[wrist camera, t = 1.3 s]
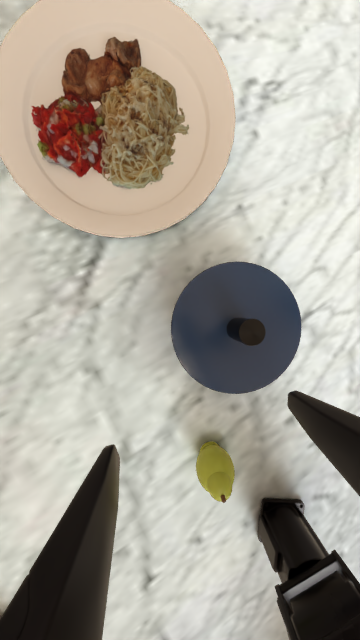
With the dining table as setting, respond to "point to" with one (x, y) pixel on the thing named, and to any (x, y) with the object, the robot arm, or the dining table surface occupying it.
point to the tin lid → (236, 327)
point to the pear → (215, 471)
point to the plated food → (114, 113)
